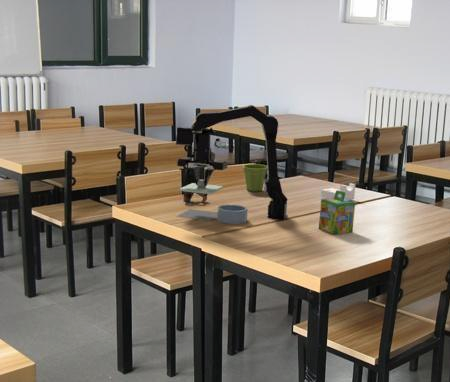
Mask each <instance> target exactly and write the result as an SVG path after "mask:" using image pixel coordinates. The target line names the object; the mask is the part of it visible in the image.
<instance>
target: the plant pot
mask: <svg viewBox="0 0 450 382" xmlns="http://www.w3.org/2000/svg"><path fill="white" fill-rule="evenodd" d="M242 168H243V171H244V176H245V185H246V190H247V191H249V192H254V191H256V192H262V191H263V190H264V180H263V179H266V175H267V172H268V170H267V165H265V164H257V163H255V164H253V163H251V164H250V163H249V164H244V165H242ZM261 190H262V191H261Z"/></svg>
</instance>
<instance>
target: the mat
mask: <svg viewBox="0 0 450 382" xmlns="http://www.w3.org/2000/svg"><path fill="white" fill-rule="evenodd" d="M175 217H177V218H185V219H192V220H193V219H194V220H201V221H207V222H209V221H212V220H214V219H216V218H217V211H209V210H208V211H207V210H201V209H192V208H190V209H188V210H186V211H183V212H182V213H179V214H178V215H176V216H175Z"/></svg>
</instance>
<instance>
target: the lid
mask: <svg viewBox="0 0 450 382" xmlns="http://www.w3.org/2000/svg"><path fill="white" fill-rule="evenodd" d="M223 189H224V186H223V185H214V184H207V186H205V179H199V180H198V182H197V185H196V183H194V182H192V183H190V184H187V185H185V186H182V187H180V188H179V192H194V194H196V193H204V194H208V195H213V194H214V193H217V192H219V191H221V190H223Z"/></svg>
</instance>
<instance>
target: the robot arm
mask: <svg viewBox="0 0 450 382" xmlns="http://www.w3.org/2000/svg"><path fill="white" fill-rule="evenodd" d="M249 117H251V118H253V119H254V120H256V121H257V122H259V123H260V124H261V127H262V128H261V129H262V133H263V135H264V139H265V149H266V150H265V152H266V163H267V165H266V166H267V176H266V177H267V178H265V179H263V180H264V184H263V190H264V191H265V193H266V194H267V196H268V197H269V198H270V199H271V200H269V204H268V206H267V218H268V219H269V218H270V219H278V220H285V219H286V218H287V217H288V214H287V210H288V209H287V208H288V198H287V196H286V195H285V193H284V192H283V189H282V185H281V181H280V177H279V170H278V169H279V168H278V154H277V136H278V135H277V134H278V131H279V121H278V118H276V117H274V116H273V115H271V114H265V113H264V112H262V111H261V110H260V109H258V108H257V107H256V106H255V105H253V104H250V105H247V106H242V107H237V108H233V109H227V110H222V111H201V112H199V113H198V114H197V115H196V117H195V122H194V123H193V124H192V125H191V127H182V126H177V127H176V135H175V136H176V137H175V145H176V146H191V145H192V144H194V143H195V144H194V146H195V147H194V148H193V152H194V158H193V159H192V157H186V156H185V157H184V156H183V157H180V158H178V159H177V162H176V163H177V164H176V166H177V167H183V168H185V167H186V166H187V167H186V168H187V170H189V172H190V173H191V176H192V178H193V180H194V182H195V183H196V185H197V182H198V180H200V178H199V171H200V166H201V167H207V168H205V169H204V180H205V186H207V185H209V181H210V179H211V176H212V174H213V172H214V171H217V170H218V171H223V170H226V169H228V162H227V161H226V160H219V159H218V160H215V159H216V153H215V152H213V151H212V147H211V135H216V131H215V130H214V129H213V126H216V125H217V124H220V123H222V122H227V121H232V120H238V119H242V118H249ZM208 128H209V129H208ZM199 130H201V131H199ZM194 140H195V142H194Z"/></svg>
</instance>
